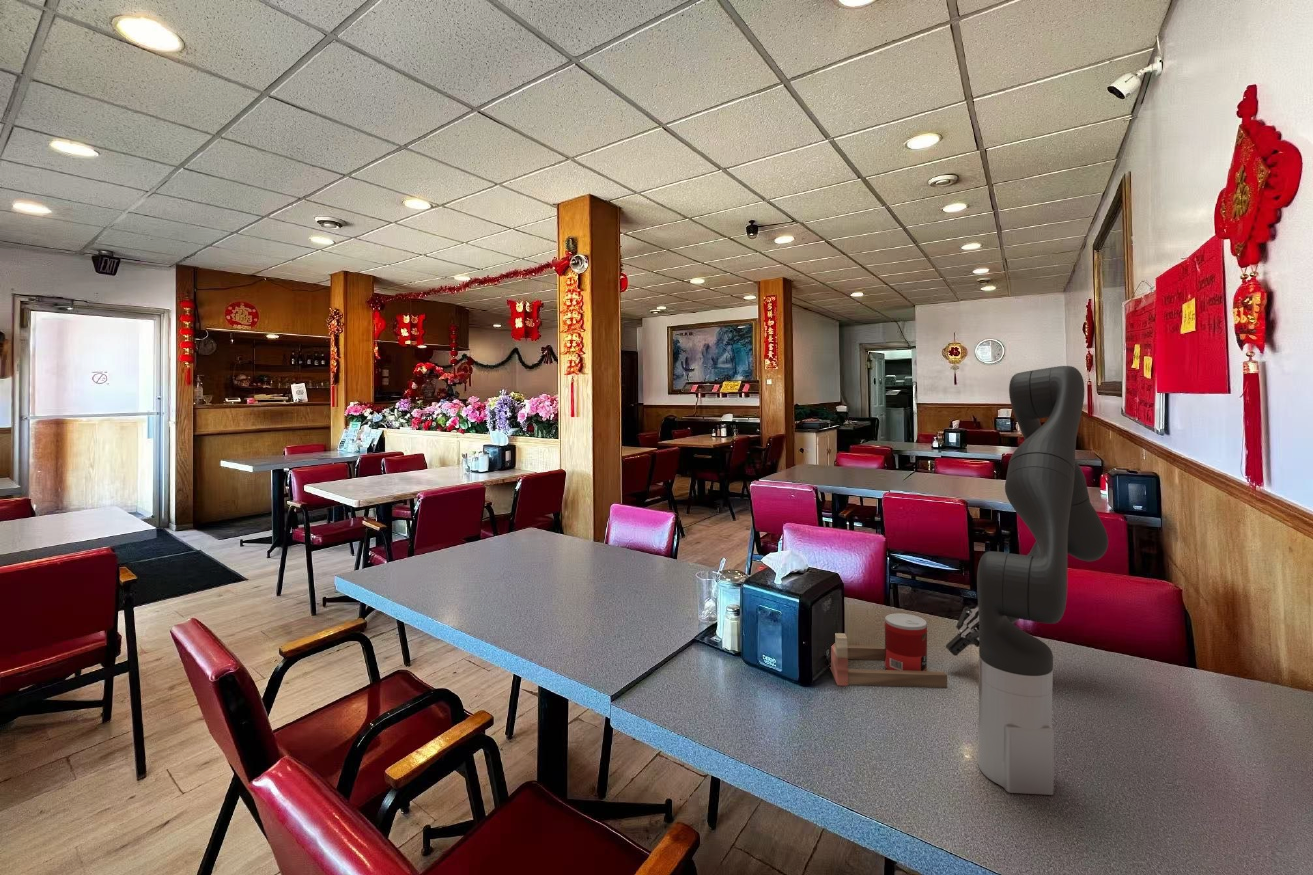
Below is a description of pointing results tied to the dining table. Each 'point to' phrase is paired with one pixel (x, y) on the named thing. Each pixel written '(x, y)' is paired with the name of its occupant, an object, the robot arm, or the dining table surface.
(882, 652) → the rail
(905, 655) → the canned food
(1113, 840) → the dining table surface
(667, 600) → the dining table surface
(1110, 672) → the dining table surface
